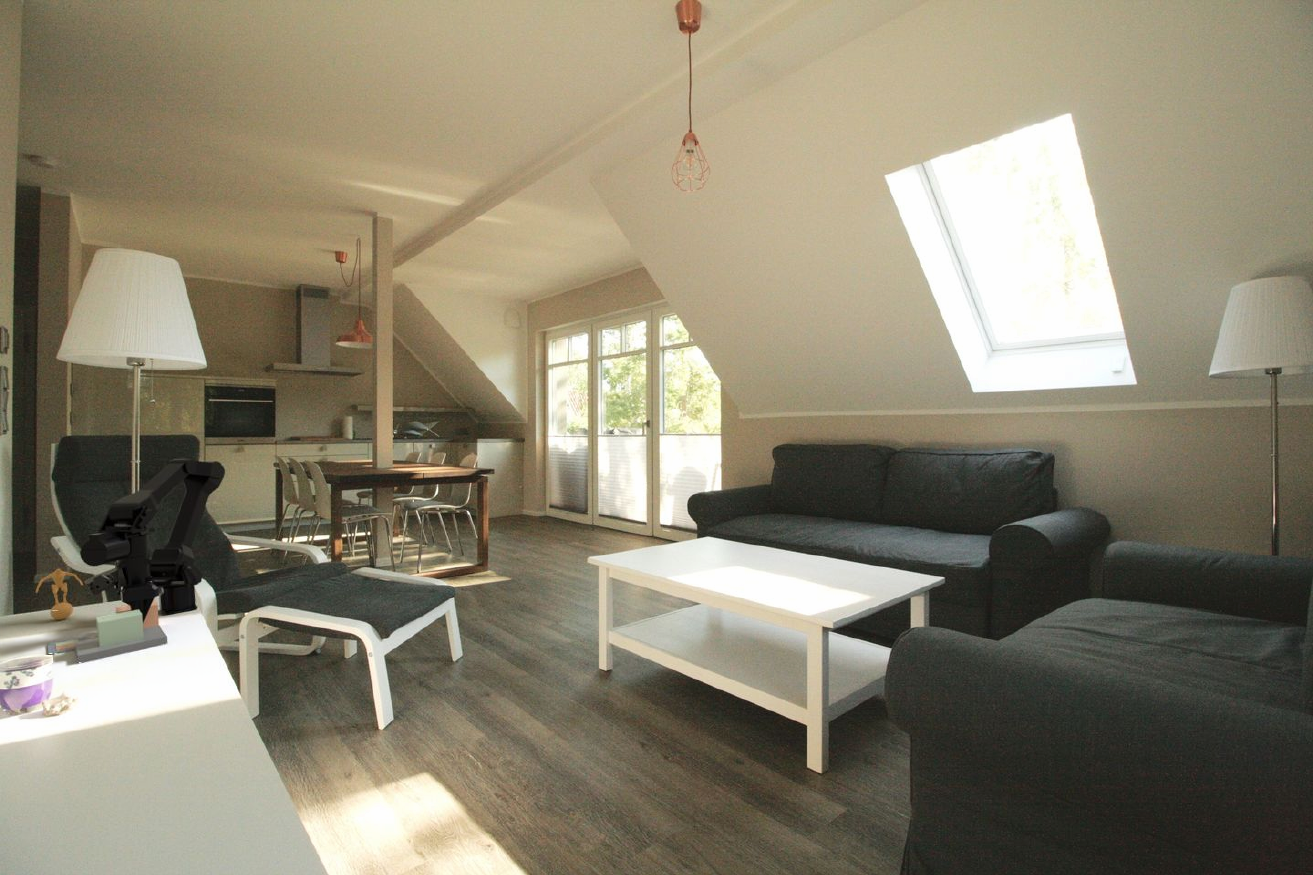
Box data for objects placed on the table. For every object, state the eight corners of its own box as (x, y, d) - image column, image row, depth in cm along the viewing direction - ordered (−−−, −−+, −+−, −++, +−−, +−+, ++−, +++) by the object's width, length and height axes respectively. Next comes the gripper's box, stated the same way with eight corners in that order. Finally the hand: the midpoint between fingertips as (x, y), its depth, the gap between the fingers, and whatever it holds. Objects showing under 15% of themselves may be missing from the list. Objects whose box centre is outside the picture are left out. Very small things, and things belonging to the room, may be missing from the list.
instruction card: (85, 637, 140) (85, 635, 140) (88, 646, 134) (87, 645, 134) (47, 645, 135) (47, 643, 135) (48, 655, 130) (48, 653, 130)
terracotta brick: (155, 621, 150) (154, 600, 150) (158, 626, 147) (157, 604, 147) (116, 629, 145) (115, 607, 145) (119, 634, 142) (117, 612, 142)
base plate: (159, 631, 143) (159, 624, 143) (167, 643, 135) (167, 636, 135) (75, 649, 133) (74, 641, 133) (78, 663, 125) (78, 655, 125)
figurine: (39, 625, 149) (35, 574, 148) (36, 620, 153) (33, 570, 152) (86, 616, 155) (83, 567, 154) (83, 611, 159) (79, 563, 158)
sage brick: (140, 632, 138) (138, 609, 138) (143, 637, 135) (142, 614, 134) (97, 640, 133) (96, 617, 133) (99, 646, 130) (98, 622, 129)
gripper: (83, 555, 146) (87, 622, 147) (89, 569, 133) (94, 642, 134) (145, 547, 154) (149, 610, 155) (156, 559, 141) (160, 628, 142)
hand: (137, 622), depth 146 cm, fingers closed on terracotta brick, 5 cm apart
